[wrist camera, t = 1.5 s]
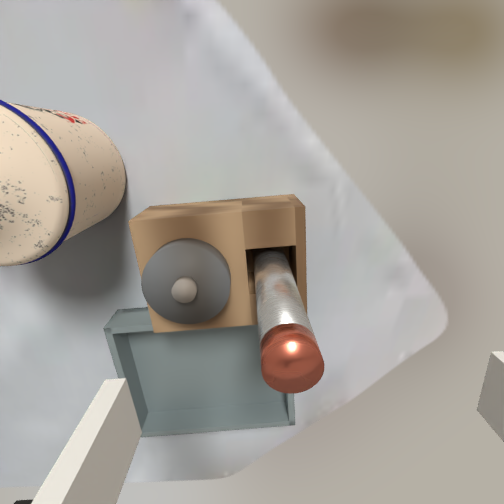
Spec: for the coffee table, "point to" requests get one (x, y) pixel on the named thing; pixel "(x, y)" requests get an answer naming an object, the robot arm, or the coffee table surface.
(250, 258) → the tan wooden block
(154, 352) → the tray
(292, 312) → the pin
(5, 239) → the teacup with lid
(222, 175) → the coffee table surface
